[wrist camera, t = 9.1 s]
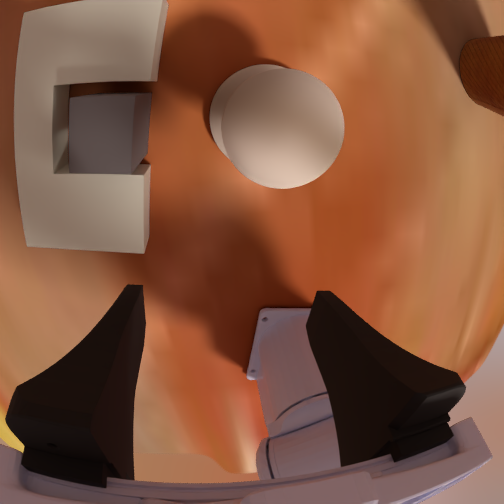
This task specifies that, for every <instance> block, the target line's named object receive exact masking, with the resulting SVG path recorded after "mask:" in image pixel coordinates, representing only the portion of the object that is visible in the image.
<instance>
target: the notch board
mask: <svg viewBox="0 0 504 504" xmlns="http://www.w3.org/2000/svg"><path fill="white" fill-rule="evenodd" d="M168 6H169V5H168V3H167V1H166V0H83V1H77V2H70V3H65V4H59V5H54V6H49V7H45V8H40V9H36V10H32V11H28V12H24V15H23V20H22V26H21V32H20V39H19V46H18V54H17V64H16V75H15V92H14V146H15V163H16V175H17V185H18V194H19V202H20V209H21V216H22V222H23V228H24V233H25V239H26V244H27V247H41V248H56V249H73V250H89V251H106V252H123V253H141V254H144V252H145V249H146V246H147V242H148V239H149V209H150V170H151V164H139V165H138V166H137V167H136V169H135V170H134V171H133V173H132V174H83V173H69V163H68V107H69V89H70V84H78V83H93V82H116V81H157V79H158V71H159V63H160V55H161V48H162V41H163V35H164V28H165V22H166V17H167V11H168Z"/></svg>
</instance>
